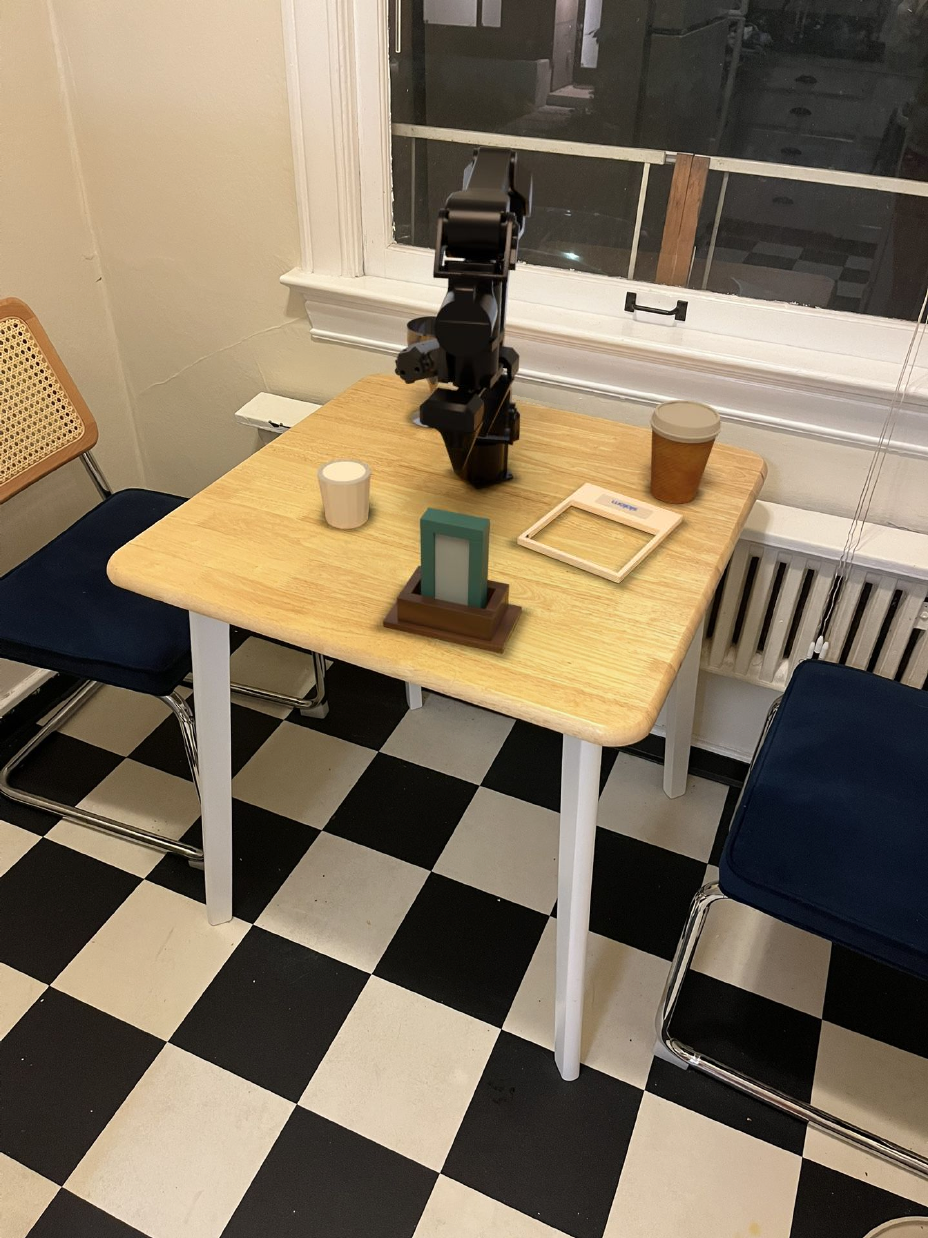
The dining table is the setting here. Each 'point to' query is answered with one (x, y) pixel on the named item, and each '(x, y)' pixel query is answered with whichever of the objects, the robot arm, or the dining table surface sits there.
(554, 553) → the photo frame
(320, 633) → the dining table surface
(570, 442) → the dining table surface
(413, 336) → the wine glass
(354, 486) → the beige cup
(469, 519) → the picture frame
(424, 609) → the frame holder
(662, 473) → the disposable coffee cup
